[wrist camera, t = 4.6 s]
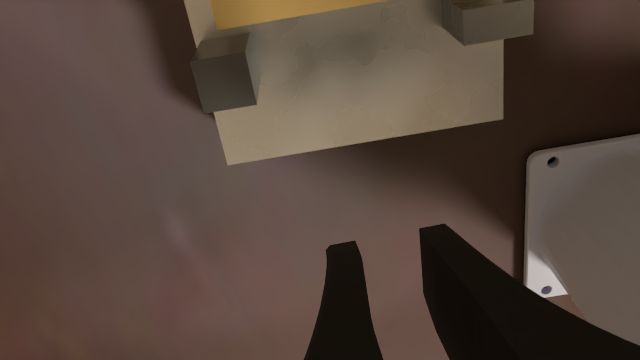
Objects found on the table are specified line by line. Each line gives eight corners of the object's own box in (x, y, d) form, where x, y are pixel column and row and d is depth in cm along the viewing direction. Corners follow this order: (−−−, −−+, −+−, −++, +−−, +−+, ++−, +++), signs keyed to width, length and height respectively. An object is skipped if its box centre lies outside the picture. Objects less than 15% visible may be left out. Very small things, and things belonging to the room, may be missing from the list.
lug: (249, 32, 17) (245, 52, 15) (259, 80, 18) (256, 104, 16) (201, 41, 18) (189, 61, 15) (213, 87, 18) (203, 113, 16)
